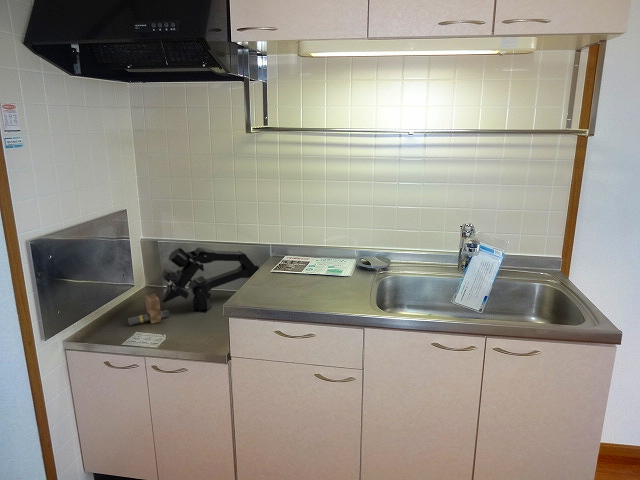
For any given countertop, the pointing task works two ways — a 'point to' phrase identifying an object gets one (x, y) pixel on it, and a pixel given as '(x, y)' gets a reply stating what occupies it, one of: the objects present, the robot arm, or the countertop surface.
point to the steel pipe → (145, 318)
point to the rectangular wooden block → (153, 307)
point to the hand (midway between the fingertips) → (162, 302)
